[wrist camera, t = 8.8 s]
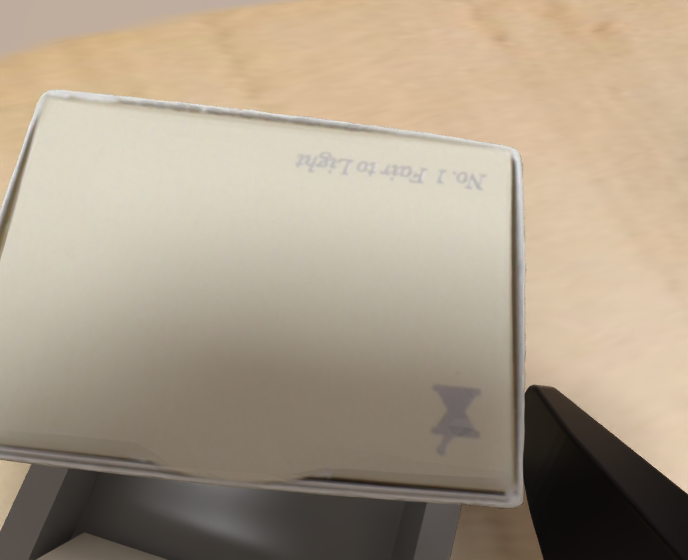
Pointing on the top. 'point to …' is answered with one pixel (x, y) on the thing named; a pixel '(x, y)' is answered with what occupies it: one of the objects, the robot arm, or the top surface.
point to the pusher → (96, 550)
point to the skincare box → (263, 302)
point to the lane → (218, 520)
